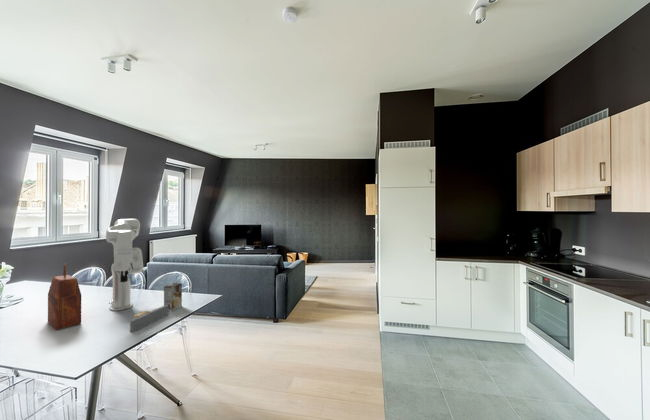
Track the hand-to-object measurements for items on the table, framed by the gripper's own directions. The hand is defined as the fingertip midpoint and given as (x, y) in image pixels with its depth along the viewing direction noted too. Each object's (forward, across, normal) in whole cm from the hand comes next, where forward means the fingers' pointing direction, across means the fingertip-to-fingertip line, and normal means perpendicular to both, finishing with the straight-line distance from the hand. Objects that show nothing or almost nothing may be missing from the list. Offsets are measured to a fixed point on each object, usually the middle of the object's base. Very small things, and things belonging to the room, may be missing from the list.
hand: (124, 281), depth 156 cm
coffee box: (+23, +15, +22) cm, 35 cm away
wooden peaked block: (+23, -29, -11) cm, 39 cm away
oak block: (+23, +14, +1) cm, 27 cm away
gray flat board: (+23, +19, 0) cm, 30 cm away
